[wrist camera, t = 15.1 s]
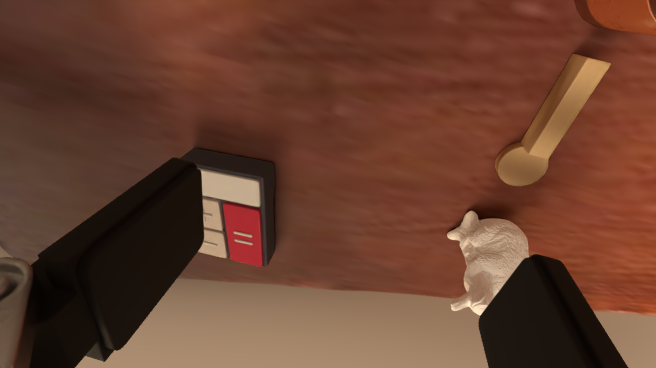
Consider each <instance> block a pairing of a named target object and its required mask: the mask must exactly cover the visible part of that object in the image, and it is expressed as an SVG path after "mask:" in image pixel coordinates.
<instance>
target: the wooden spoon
mask: <svg viewBox="0 0 656 368" xmlns="http://www.w3.org/2000/svg"><path fill="white" fill-rule="evenodd" d="M610 65H611V63H608V62H605V61H601V60H598V59H594V58H590V57H586V56H582V55H578V54H572V56H571V58H570V59H569V61H568V63H567V64H566V66H565V68H564V70H563V71H562V73H561V75H560V76H559V78H558V80H557V81H556V83H555V85H554V86H553V88H552V90H551V92H550V93H549V95H548V97H547V98H546V100H545V102H544V103H543V105H542V107H541V108H540V110H539V112H538V114H537V115H536V117H535V119H534V120H533V122H532V124H531V125H530V127H529V129H528V130H527V132H526V134H525V135H524V137H523V139H522V141H521V142H518V143H514V144H511V145H509V146H507V147H506V148H504V149H503V150H502V151H501V152H500V153H499V155H498V156H497V158H496V161H495V169H496V171H497V173H498V175H499V177H500V178H501V180H502V181H504V182H505V183H507V184H509V185H512V186H525V185H529V184H532V183H534V182H536V181H537V180H539V179H540V178H541V177H542V176H543V175H544V174H545V172H546V170H547V168H548V158H549V157H550V155H551V154H552V152H553V151H554V149H555V148H556V146H557V145H558V143H559V142H560V140H561V139H562V137H563V136H564V134H565V133H566V131H567V130H568V128H569V127H570V125H571V124H572V122H573V121H574V119H575V118H576V116H577V115H578V113H579V112H580V110H581V109H582V107H583V106H584V104H585V103H586V101H587V100H588V98H589V97H590V95H591V94H592V92H593V91H594V89H595V88H596V86H597V85H598V83H599V82H600V80H601V79H602V77H603V76H604V74H605V73H606V71H607V70H608V68H609V67H610Z"/></svg>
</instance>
